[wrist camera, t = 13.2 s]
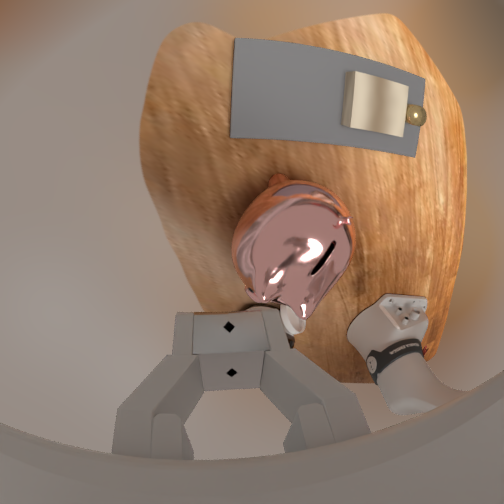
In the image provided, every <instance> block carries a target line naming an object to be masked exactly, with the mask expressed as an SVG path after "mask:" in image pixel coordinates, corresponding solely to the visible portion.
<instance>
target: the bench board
mask: <svg viewBox="0 0 504 504" xmlns="http://www.w3.org/2000/svg"><path fill="white" fill-rule="evenodd" d="M351 71H357V72H361V73H365V74H369V75H373V76H377V77H380V78H384V79H387V80H390V81H394V82H397V83H400V84H403V85H406V86H409V89H408V100H407V104H413V105H419V106H421V107H423V100H424V90H425V79H424V78H422V77H419V76H417V75H414V74H412V73H409V72H406V71H403V70H401V69H398V68H395V67H392V66H389V65H386V64H383V63H380V62H376V61H373V60H370V59H366V58H363V57H359V56H355V55H351V54H347V53H343V52H339V51H334V50H330V49H325V48H320V47H314V46H309V45H303V44H296V43H289V42H281V41H272V40H262V39H249V38H248V39H247V38H235V41H234V57H233V75H232V96H231V119H230V138H254V139H276V140H292V141H304V142H315V143H325V144H334V145H342V146H350V147H357V148H364V149H371V150H377V151H383V152H389V153H394V154H400V155H405V156H410V157H414V158H415V156H416V150H417V144H418V138H419V132H420V126H415V125H411V124H408V123H405V125H404V133H403V137H399V136H394V135H389V134H384V133H379V132H374V131H368V130H363V129H357V128H351V127H347V126H344V125H341V120H342V110H343V100H344V88H345V74H346V72H351Z"/></svg>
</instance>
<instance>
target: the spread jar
mask: <svg viewBox="0 0 504 504" xmlns="http://www.w3.org/2000/svg"><path fill="white" fill-rule="evenodd" d="M263 309H276V308H274V307H272V306H269V305H264V304H260V305H254V306H251V307H249V308H248V309H246V310H245V311H250V310H263ZM279 313H280V316H281V320H282V323H283V326H284V329H285V333H286V336H287V339H288V343H289V346H290V349H293V347H294V343H295V339H294V334H298V333H301V332H303V331H304V330H305V327H306V320H302V319H300V318H299V317H298V316H297V315H296V314H295V313H294V311H293V310H292V309H291V308H290V307H289V306H285V305H281V306H280V311H279Z"/></svg>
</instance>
